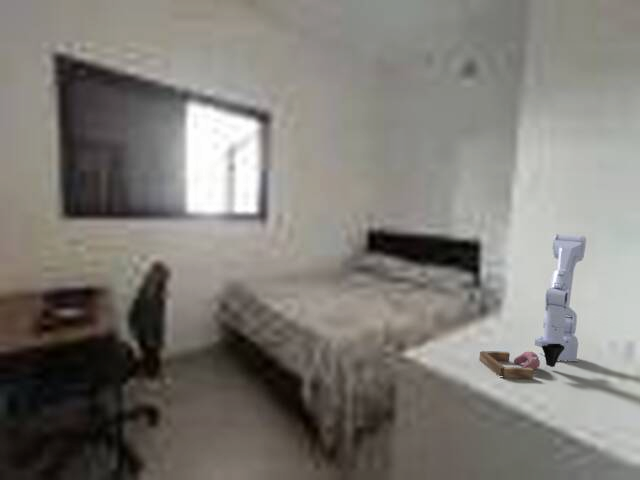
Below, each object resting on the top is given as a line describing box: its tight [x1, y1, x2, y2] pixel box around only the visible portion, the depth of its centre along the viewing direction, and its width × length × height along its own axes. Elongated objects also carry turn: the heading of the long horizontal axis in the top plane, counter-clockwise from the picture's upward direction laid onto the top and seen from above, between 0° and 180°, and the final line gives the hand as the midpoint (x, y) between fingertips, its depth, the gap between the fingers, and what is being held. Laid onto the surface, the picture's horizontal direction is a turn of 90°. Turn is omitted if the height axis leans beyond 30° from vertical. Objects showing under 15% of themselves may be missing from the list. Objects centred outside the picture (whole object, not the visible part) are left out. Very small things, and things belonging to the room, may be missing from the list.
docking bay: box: [479, 350, 535, 380], centre depth 141 cm, size 10×16×3 cm, turn 4°
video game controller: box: [513, 350, 541, 371], centre depth 142 cm, size 10×5×7 cm, turn 169°
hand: (550, 365), depth 143 cm, fingers closed
